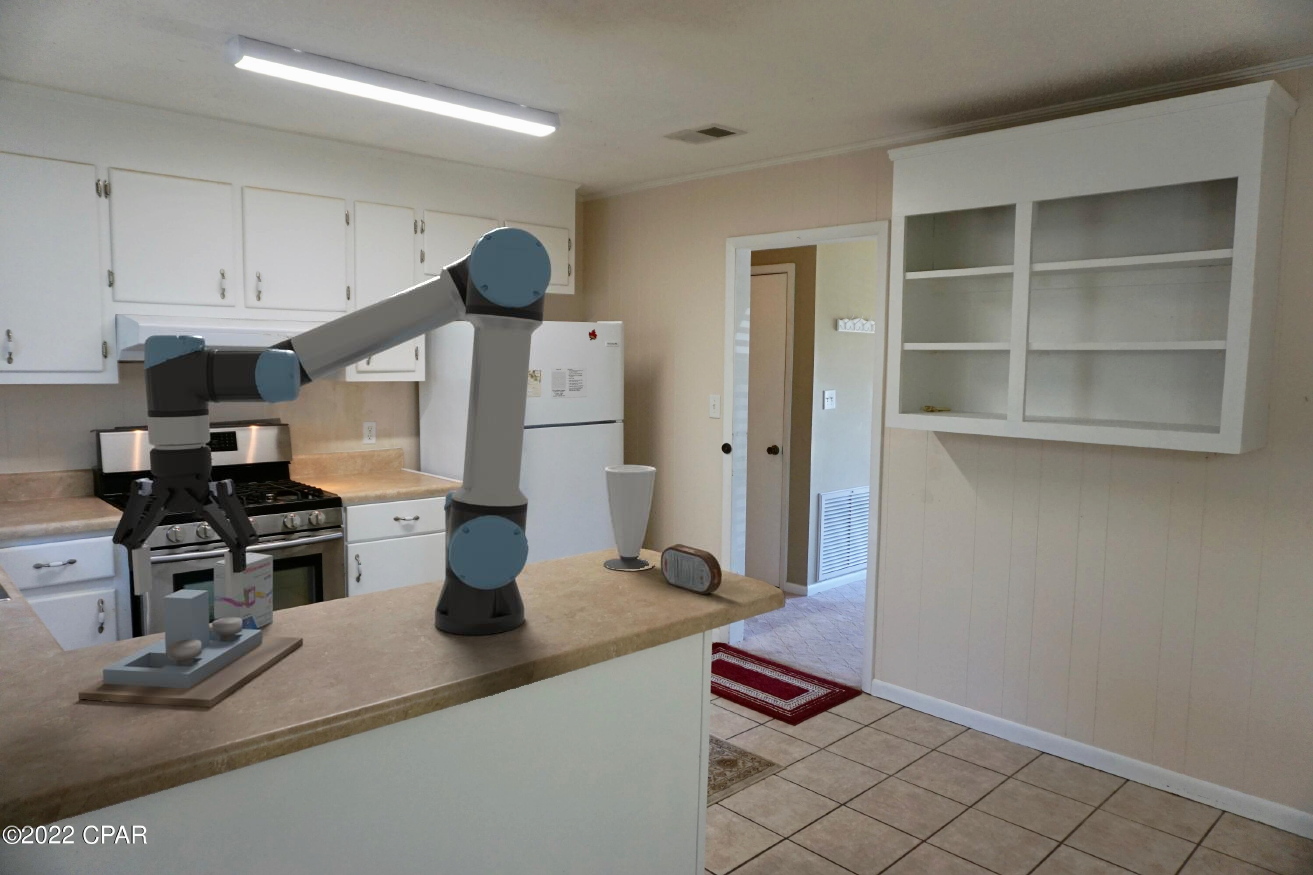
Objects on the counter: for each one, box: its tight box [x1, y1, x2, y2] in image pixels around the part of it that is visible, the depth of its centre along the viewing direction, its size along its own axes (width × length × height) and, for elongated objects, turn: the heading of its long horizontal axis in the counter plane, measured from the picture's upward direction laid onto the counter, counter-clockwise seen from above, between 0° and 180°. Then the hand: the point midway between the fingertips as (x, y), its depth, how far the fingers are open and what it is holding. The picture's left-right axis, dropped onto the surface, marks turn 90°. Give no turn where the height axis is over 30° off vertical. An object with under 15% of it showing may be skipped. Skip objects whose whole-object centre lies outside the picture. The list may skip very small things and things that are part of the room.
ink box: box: [213, 552, 274, 630], centre depth 139 cm, size 9×5×12 cm, turn 168°
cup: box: [603, 464, 658, 569], centre depth 186 cm, size 12×12×22 cm
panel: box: [102, 588, 263, 688], centre depth 121 cm, size 12×18×10 cm, turn 176°
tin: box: [660, 543, 723, 595], centre depth 168 cm, size 15×3×8 cm, turn 43°
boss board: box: [78, 617, 304, 708], centre depth 121 cm, size 18×24×6 cm
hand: (189, 593), depth 121 cm, fingers open, 13 cm apart
